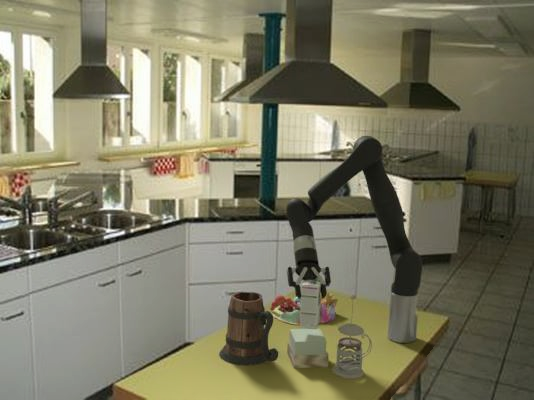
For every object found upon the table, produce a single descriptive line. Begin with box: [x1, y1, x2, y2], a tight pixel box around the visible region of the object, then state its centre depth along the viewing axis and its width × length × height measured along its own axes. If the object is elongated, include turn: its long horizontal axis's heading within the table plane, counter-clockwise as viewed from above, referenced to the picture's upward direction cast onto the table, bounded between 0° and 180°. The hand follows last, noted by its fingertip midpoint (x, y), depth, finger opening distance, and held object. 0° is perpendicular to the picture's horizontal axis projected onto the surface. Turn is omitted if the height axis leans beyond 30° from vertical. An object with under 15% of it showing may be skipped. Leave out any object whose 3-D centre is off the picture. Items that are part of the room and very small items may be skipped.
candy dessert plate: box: [269, 292, 339, 326], centre depth 228 cm, size 25×24×9 cm
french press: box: [332, 293, 373, 379], centre depth 179 cm, size 10×12×25 cm
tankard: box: [218, 291, 279, 367], centre depth 187 cm, size 24×17×20 cm
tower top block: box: [288, 328, 327, 355], centre depth 187 cm, size 10×10×4 cm
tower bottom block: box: [286, 341, 329, 369], centre depth 188 cm, size 11×11×4 cm
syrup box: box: [299, 280, 321, 330], centre depth 185 cm, size 6×6×14 cm
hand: (311, 297), depth 183 cm, fingers closed on syrup box, 7 cm apart
